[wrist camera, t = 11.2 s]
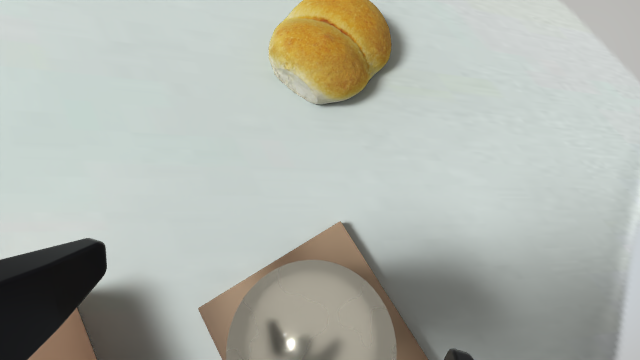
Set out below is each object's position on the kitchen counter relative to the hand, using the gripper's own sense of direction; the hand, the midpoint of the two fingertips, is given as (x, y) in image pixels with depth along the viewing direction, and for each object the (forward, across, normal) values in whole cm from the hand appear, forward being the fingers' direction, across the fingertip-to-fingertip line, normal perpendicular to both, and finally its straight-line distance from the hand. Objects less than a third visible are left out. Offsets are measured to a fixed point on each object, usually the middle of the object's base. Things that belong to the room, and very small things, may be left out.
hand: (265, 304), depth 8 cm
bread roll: (+22, +3, -5) cm, 22 cm away
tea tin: (+9, -1, +9) cm, 13 cm away
